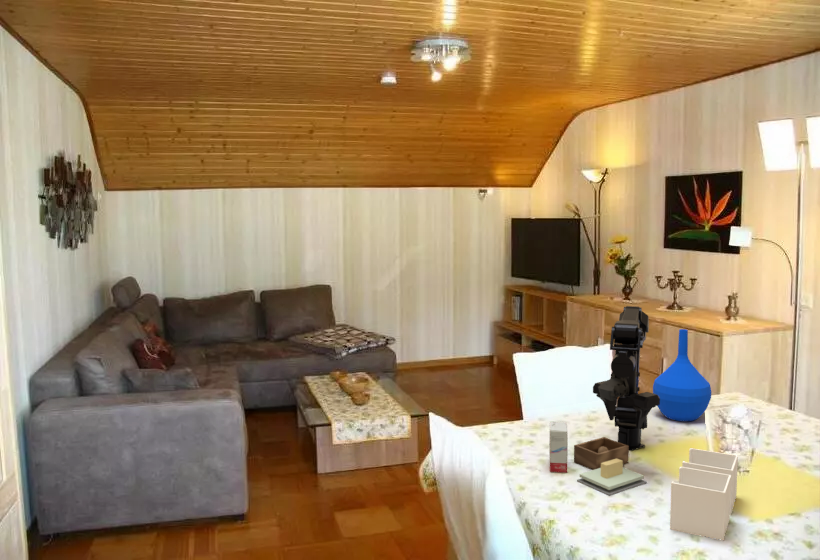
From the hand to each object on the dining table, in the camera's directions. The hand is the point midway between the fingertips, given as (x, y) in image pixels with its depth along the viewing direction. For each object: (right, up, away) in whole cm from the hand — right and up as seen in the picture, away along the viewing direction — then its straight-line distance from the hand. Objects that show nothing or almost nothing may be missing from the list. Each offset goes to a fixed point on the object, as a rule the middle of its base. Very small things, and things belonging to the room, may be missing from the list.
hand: (624, 424), depth 191 cm
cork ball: (-4, -9, +7) cm, 12 cm away
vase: (+32, -7, +44) cm, 55 cm away
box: (-5, -12, +4) cm, 14 cm away
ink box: (-18, -12, +2) cm, 22 cm away
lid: (-6, -12, -9) cm, 16 cm away
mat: (-6, -13, -9) cm, 17 cm away
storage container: (+10, -16, -27) cm, 33 cm away
